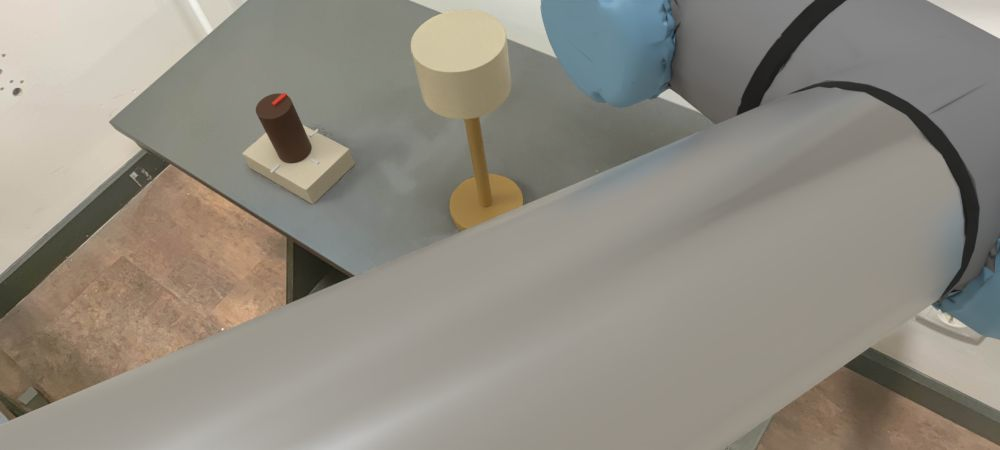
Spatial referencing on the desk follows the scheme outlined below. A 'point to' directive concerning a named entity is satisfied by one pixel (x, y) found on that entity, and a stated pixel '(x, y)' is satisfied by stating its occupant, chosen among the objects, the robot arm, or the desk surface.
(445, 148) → the desk surface
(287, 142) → the dimmer knob
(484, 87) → the desk lamp
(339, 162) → the dimmer panel
